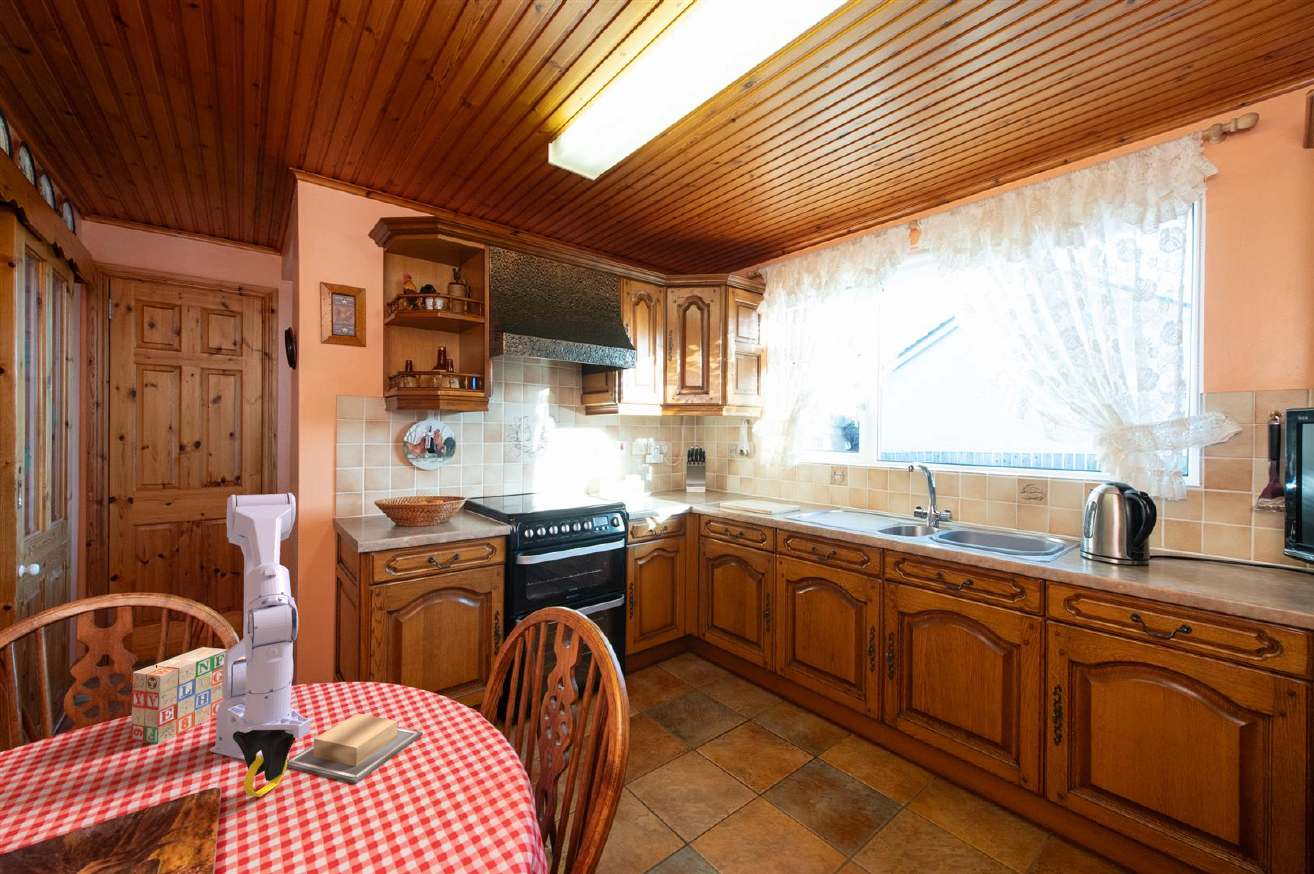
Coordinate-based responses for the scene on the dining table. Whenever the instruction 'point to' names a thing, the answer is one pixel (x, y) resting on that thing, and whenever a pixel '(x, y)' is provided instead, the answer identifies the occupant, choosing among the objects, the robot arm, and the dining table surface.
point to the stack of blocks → (176, 694)
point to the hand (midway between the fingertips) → (266, 774)
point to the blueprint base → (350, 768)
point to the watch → (251, 774)
